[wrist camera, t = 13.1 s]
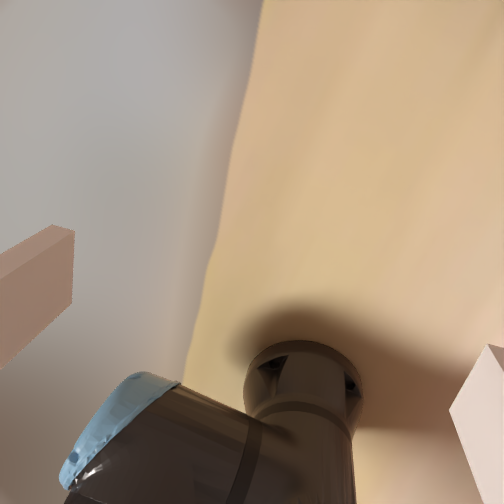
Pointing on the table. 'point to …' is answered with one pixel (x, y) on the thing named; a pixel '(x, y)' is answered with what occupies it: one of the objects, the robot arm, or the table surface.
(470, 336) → the table surface
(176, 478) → the robot arm
